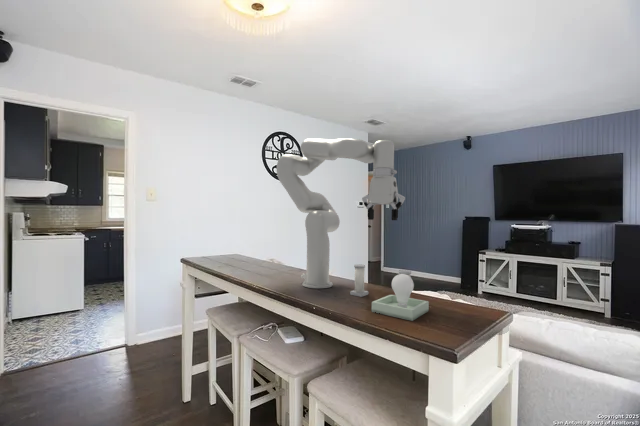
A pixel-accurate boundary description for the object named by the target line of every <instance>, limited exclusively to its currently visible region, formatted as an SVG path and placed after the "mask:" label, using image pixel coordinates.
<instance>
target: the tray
mask: <svg viewBox="0 0 640 426" xmlns="http://www.w3.org/2000/svg"><path fill="white" fill-rule="evenodd" d="M429 303H430V301H428V300H424V299H417V298H413V297H410V298H408V302H407V308H404V307H399V306H397V305H398V302H397V298H396V295H395V294H388V295H385V296H383V297H381V298H379V299H375V300H373V301H371V312H372V313H375V312H376V313H377V314H379V313H380V315H385V316H389V317H393V318H397V319H398V318H399V319H401V320H406V321H411V322H413V321H414V320H416V319H418V318H420V317H421V316H423V315H424V314H426V313H428V312H429V309H430V307H429V305H430V304H429ZM376 313H375V314H376Z"/></svg>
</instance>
